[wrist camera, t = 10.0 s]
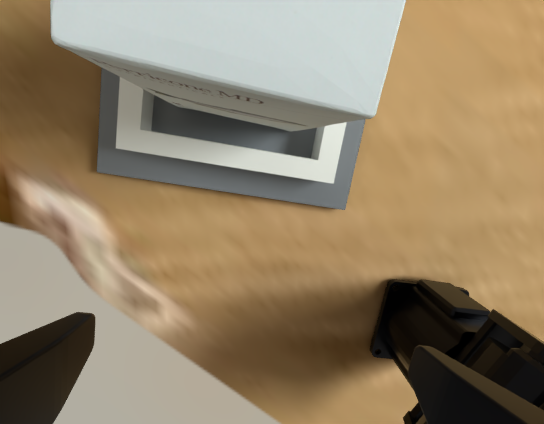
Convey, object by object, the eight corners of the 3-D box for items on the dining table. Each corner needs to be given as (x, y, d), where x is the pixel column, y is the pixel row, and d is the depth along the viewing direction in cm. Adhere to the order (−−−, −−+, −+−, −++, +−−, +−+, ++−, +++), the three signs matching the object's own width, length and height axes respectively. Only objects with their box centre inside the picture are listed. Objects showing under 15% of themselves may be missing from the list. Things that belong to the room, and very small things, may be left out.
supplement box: (174, 108, 18) (27, 41, 6) (194, -30, 17) (51, -508, 4) (293, 136, 19) (379, 127, 7) (322, 7, 18) (498, -297, 5)
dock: (341, 207, 21) (355, 217, 19) (102, 170, 19) (79, 175, 17) (399, -54, 18) (427, -88, 15) (118, -130, 16) (91, -185, 13)
